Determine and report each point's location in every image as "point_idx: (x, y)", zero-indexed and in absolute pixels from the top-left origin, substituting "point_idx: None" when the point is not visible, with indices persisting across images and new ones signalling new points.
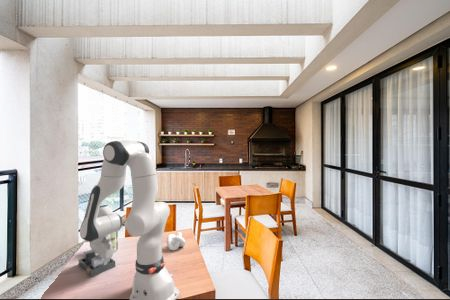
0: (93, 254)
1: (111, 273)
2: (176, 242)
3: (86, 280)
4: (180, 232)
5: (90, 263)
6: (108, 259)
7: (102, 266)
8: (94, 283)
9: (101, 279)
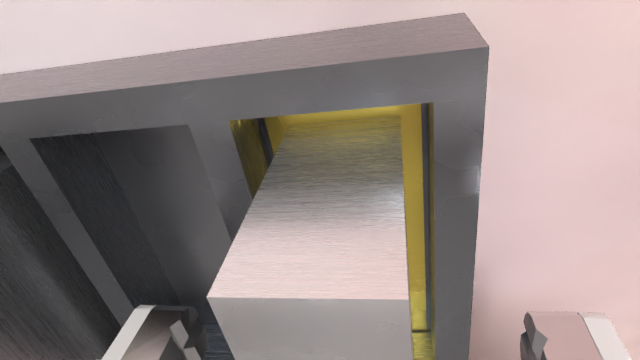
0: (21, 340)
1: (632, 143)
2: None
3: (474, 357)
4: None
5: (161, 293)
6: (405, 229)
7: (463, 288)
8: (630, 339)
9: (634, 278)
